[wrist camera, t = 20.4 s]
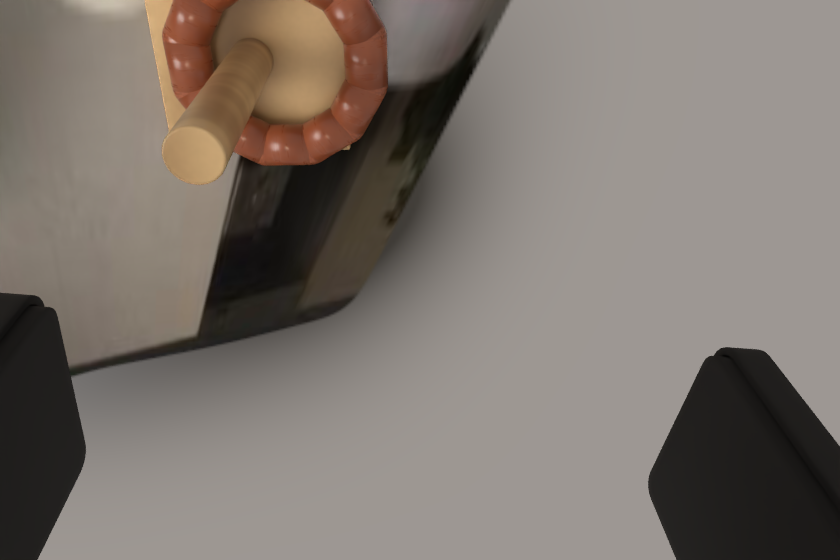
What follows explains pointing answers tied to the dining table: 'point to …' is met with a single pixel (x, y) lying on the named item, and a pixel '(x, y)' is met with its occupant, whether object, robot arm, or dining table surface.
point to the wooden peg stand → (248, 80)
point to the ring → (288, 143)
